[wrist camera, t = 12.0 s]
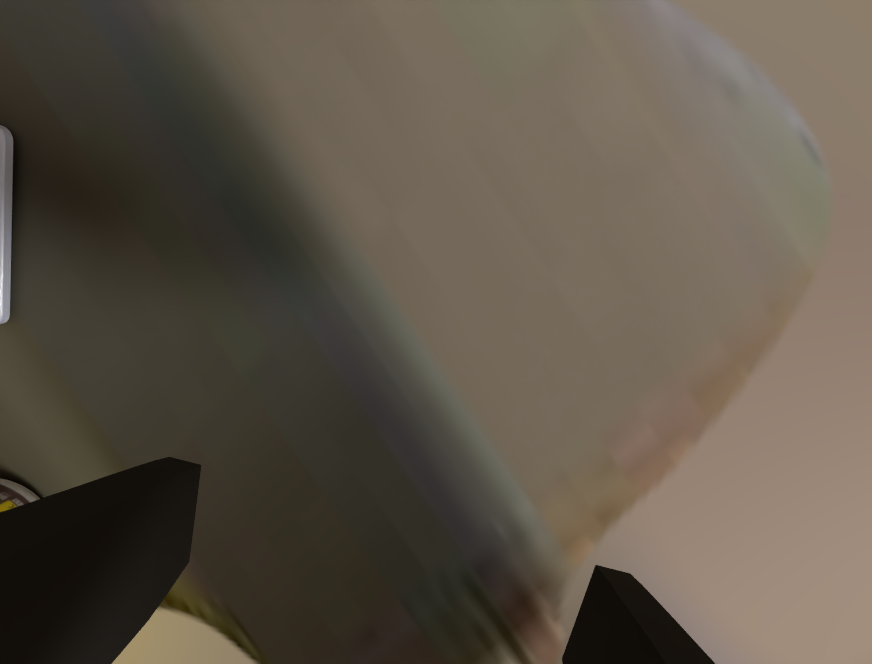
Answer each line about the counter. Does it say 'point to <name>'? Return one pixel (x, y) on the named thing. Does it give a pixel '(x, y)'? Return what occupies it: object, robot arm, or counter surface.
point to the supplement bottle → (14, 495)
